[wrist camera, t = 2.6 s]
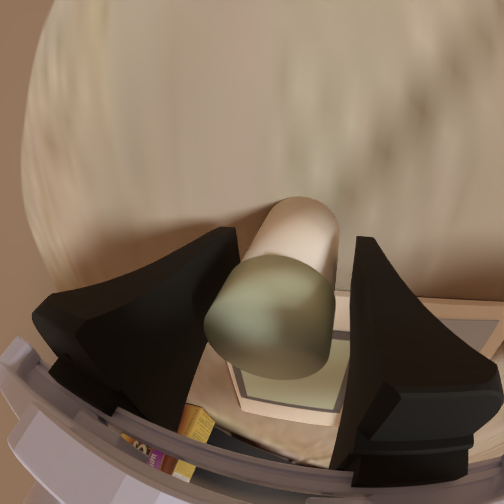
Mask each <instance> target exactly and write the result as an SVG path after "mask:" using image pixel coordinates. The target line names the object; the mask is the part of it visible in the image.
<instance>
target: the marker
mask: <svg viewBox="0 0 504 504" xmlns="http://www.w3.org/2000/svg"><path fill="white" fill-rule="evenodd" d="M339 236H340V230H339V225H338V222H337V219H336V217H335V216H334V214H333V213H332V212H331V210H330V209H329V208H328V207H327V206H325V205H324V204H322V203H321V202H319V201H317V200H315V199H312V198H308V197H290V198H287V199H284V200H282V201H280V202H279V203H277V204H276V205H275V206H274V207H273V208H272V209H271V210H270V212H269V213H268V215H267V217H266V218H265V220H264V222H263V224H262V225H261V227H260V229H259V231H258V232H257V234H256V236H255V238H254V239H253V241H252V243H251V245H250V246H249V248H248V250H247V252H246V253H245V255H244V257H243V259H242V260H241V262H240V264H238V265H237V266H236V267H235V268H234V269H233V270H232V272H231V273H230V275H229V276H228V278H227V280H226V281H225V283H224V285H223V287H222V288H221V290H220V292H219V293H218V295H217V297H216V299H215V300H214V302H213V304H212V305H211V307H210V309H209V311H208V312H207V314H206V316H205V319H204V332H205V335H206V338H207V340H208V342H209V343H210V345H211V346H212V348H213V349H214V350H215V351H216V352H217V353H218V354H219V355H220V356H221V357H222V358H223V359H225V360H226V361H227V362H229V363H230V364H232V365H233V366H235V367H237V368H239V369H241V370H243V371H245V372H247V373H250V374H253V375H256V376H259V377H263V378H267V379H274V380H296V379H301V378H305V377H308V376H311V375H313V374H315V373H316V372H318V371H319V370H321V369H322V368H323V367H324V366H325V364H326V363H327V361H328V358H329V355H330V349H331V342H332V335H333V327H334V319H335V311H336V299H335V295H334V291H335V282H336V272H337V261H338V249H339Z"/></svg>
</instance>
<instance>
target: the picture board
mask: <svg viewBox="0 0 504 504" xmlns="http://www.w3.org/2000/svg"><path fill="white" fill-rule="evenodd" d="M334 295H335V299H336V311H335V319H334V327H333V335H332V342H331V349H330V355H329V358H328V361H327V363H326V364H325V366H324V367H323V368H322V369H321V370H319V371H318V372H316V373H315V374H313V375H311V376H308V377H305V378H301V379H296V380H274V379H267V378H263V377H259V376H256V375H253V374H250V373H247V372H245V371H243V370H241V369H239V368H237V367H235V366H233V365H232V364H230V363H229V362H227V364H228V368H229V371H230V374H231V377H232V380H233V384H234V387H235V390H236V393H237V396H238V399H239V402H240V405H241V408H242V411H245V412H249V413H254V414H258V415H263V416H268V417H273V418H278V419H284V420H290V421H296V422H302V423H309V424H317V425H325V426H334V427H339V424H340V419H341V414H342V409H343V404H344V398H345V392H346V386H347V379H348V371H349V361H350V310H349V303H350V292H348V291H337V290H335V291H334ZM417 298H418V299H419V300H420V301H421V302H422V303H423V305H424V306H425V307H426V308H427V309H428V310H429V311H430V312H431V313H432V314H433V315H434V316H435V317H436V318H438V319H439V320H440V321H441V322H442V323H443V324H444V325H445V326H446V327H447V328H448V329H450V330H451V331H452V332H453V333H454V334H455V335H457V336H458V337H459V338H461V339H462V340H463V341H464V342H466V343H467V344H468V345H469V346H471V347H472V348H473V349H475V350H476V351H478V352H479V353H481V354H482V355H484V356H485V357H487V358H488V359H489V360H490V359H491V357H492V356H493V355H494V353H495V352H496V350H497V349H498V348H499V346H500V345H501V343H502V342H503V340H504V302H501V301H477V300H457V299H440V298H424V297H417Z"/></svg>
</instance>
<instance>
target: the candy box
mask: <svg viewBox="0 0 504 504" xmlns="http://www.w3.org/2000/svg"><path fill="white" fill-rule="evenodd" d="M214 424H215V421H214V420H213V419H212V418H211V417H210V415H209V414H208V413H207V412H206V411H205V410H204V409H203V408H202V407H198V406H194V405H190V404H186V403H185V406H184V410H183V413H182V417H181V421H180V424H179V428H178V434H180V435H183V436H186V437H188V438H191V439H194V440H197V441H200V442H203V443H206V442H207V439H208V437H209V435H210V433H211V431H212V428H213V426H214ZM121 437H122V438H124V439H125V440H126V441H127V442H129V443H130V444H131V445H133V446H134V447H135V448H137V449H139V450H140V451H142V452H143V453H145V454H147V455H148V456H149V458H150V459H149V461H148V463H147V464H148V465H150V466H152V467H154V468H156V469H158V470H160V471H162V472H165V473H167V474H169V475H171V476H174V477H176V478H178V479H181V480H183V481H185V482H188V483H189V481H190V479H191V476H192V474H193V472H194V470H195V467H196V466H194V465H192V464H189V463H186V462H184V461H181V460H179V459H176V458H174V457H172V456H169V455H167V454H165V453H162V452H160V451H158V450H156V449H154V448H151V447H149V446H147V445H145V444H143V443H141V442H139V441H137V440H135V439H133V438H131V437H129V436H127V435H126V434H124V433H122V436H121Z"/></svg>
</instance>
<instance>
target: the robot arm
mask: <svg viewBox="0 0 504 504" xmlns="http://www.w3.org/2000/svg"><path fill="white" fill-rule="evenodd" d="M238 264H240V256H239V249H238V243H237V236H236V229H235V227H219V228H216V229H214V230H212V231H210V232H209V233H207V234H205V235H203V236H201V237H199V238H198V239H196V240H194V241H192V242H191V243H189V244H187V245H185V246H184V247H182V248H180V249H178V250H176V251H175V252H173V253H171V254H169V255H167V256H165V257H163V258H161V259H160V260H158V261H156V262H154V263H151V264H149V265H147V266H145V267H143V268H140V269H138V270H136V271H133V272H131V273H128V274H125V275H123V276H120V277H117V278H114V279H112V280H109V281H106V282H102V283H99V284H95V285H92V286H88V287H84V288H80V289H75V290H70V291H64V292H59V293H53V294H51V295H50V296H48V297H47V298H46V299H45V300H44V301H43V302H42V303H41V304H40V305H39V306H38V308H36V310H35V311H34V312H33V313H32V320H33V323H34V325H35V327H36V329H37V330H38V332H39V333H40V334H41V336H42V337H43V339H44V340H45V341H46V343H47V344H48V345H49V347H50V348H51V349H52V351H53V352H54V353H55V354H56V356H57V357H58V359H57V361H56V362H55V363H54V365H53V366H51V365H50V364H48V363H47V362H46V361H44V360H43V359H41V357H40V355H39V354H38V353H37V352H36V350H35V349H34V348H33V347H32V346H31V345H30V344H29V343H28V342H27V341H26V340H24V339H23V338H22V337H21V336H17V337H16V338H15V339H14V340H13V342H12V343H11V344H10V345H9V346H8V348H7V349H6V350H5V351H4V353H3V354H2V355H1V356H0V391H1V392H2V394H3V395H4V397H5V399H6V400H7V402H8V404H9V405H10V407H11V408H12V410H13V412H14V413H15V415H16V416H17V418H18V419H19V421H18V422H17V424H16V425H15V427H14V428H13V430H12V432H11V433H10V435H9V436H8V438H7V441H8V444H9V447H10V448H11V450H12V452H13V453H14V455H15V456H16V457H17V459H18V460H19V461H20V462H21V463H22V464H23V466H25V468H26V469H27V470H28V471H29V472H30V473H31V474H32V475H33V476H34V478H35V479H36V480H35V482H34V483H33V485H32V487H31V489H30V490H29V492H28V494H27V496H26V498H25V500H24V502H23V503H22V504H252V503H248V502H244V501H240V500H237V499H234V498H230V497H227V496H224V495H221V494H218V493H215V492H212V491H209V490H206V489H204V488H201V487H198V486H196V485H193V484H190V483H188V482H185V481H183V480H181V479H178V478H176V477H174V476H171V475H169V474H167V473H165V472H162V471H160V470H158V469H156V468H154V467H152V466H150V465H148V464H147V463H148V461H149V459H150V458H149V456H148V455H147V454H145V453H143V452H142V451H140V450H139V449H137V448H135V447H134V446H133V445H131V444H130V443H129V442H127V441H126V440H125V439H124V438H122V437H121V436H120V435H119V434H117V433H116V432H114V431H112V430H111V429H110V428H108V425H110V426H111V427H113V428H115V429H117V430H118V431H120V432H122V433H124V434H126V435H127V436H129V437H131V438H133V439H135V440H137V441H139V442H141V443H143V444H145V445H147V446H149V447H151V448H154V449H156V450H158V451H160V452H162V453H165V454H167V455H169V456H172V457H174V458H176V459H179V460H181V461H184V462H186V463H189V464H192V465H194V466H197V467H200V468H203V469H206V470H209V471H212V472H215V473H218V474H221V475H224V476H228V477H231V478H235V479H238V480H242V481H246V482H250V483H254V484H258V485H262V486H267V487H272V488H277V489H282V490H288V491H294V492H300V493H308V494H316V495H326V496H339V497H360V498H315V497H314V498H313V497H310V498H309V499H307V500H306V504H504V454H503V456H500V457H496V458H492V459H488V460H484V461H480V462H475V463H470V464H468V449H470V448H472V447H473V445H474V436H473V434H474V433H475V432H476V431H477V430H479V429H480V428H481V427H482V426H484V425H485V424H486V423H487V422H488V421H490V420H491V419H492V418H493V417H494V416H495V415H496V414H497V413H498V411H499V410H500V408H501V406H502V404H503V403H504V394H503V389H502V384H501V379H500V375H499V370H498V367H497V364H495V363H494V362H492V361H491V360H489V359H488V358H487V357H485V356H484V355H482V354H481V353H479V352H478V351H476V350H475V349H473V348H472V347H471V346H469V345H468V344H467V343H466V342H464V341H463V340H462V339H461V338H459V337H458V336H457V335H455V334H454V333H453V332H452V331H451V330H450V329H448V328H447V327H446V326H445V325H444V324H443V323H442V322H441V321H440V320H439V319H438V318H436V317H435V316H434V315H433V314H432V313H431V312H430V311H429V310H428V309H427V308H426V307H425V306H424V305H423V303H422V302H421V301H420V300H419V299H418V298H417V297H416V296H415V295H414V294H413V292H412V291H411V290H410V289H409V288H408V287H407V285H406V284H405V283H404V281H403V280H402V279H401V278H400V276H399V275H398V273H397V272H396V271H395V269H394V268H393V266H392V265H391V263H390V262H389V260H388V259H387V257H386V256H385V254H384V253H383V251H382V250H381V248H380V246H379V245H378V243H377V242H376V240H375V239H374V238H373V237H363V236H357V238H356V247H355V256H354V264H353V272H352V279H351V290H350V303H349V310H350V361H349V371H348V379H347V386H346V392H345V398H344V404H343V409H342V414H341V419H340V424H339V429H338V434H337V438H336V442H335V446H334V450H333V454H332V458H331V462H330V465H329V469H328V470H326V469H317V468H310V467H302V466H296V465H289V464H284V463H279V462H274V461H269V460H264V459H260V458H255V457H251V456H247V455H243V454H239V453H235V452H232V451H228V450H225V449H222V448H218V447H215V446H212V445H209V444H206V443H203V442H200V441H197V440H194V439H191V438H188V437H186V436H183V435H180V434H178V428H179V424H180V421H181V417H182V413H183V410H184V406H185V403H186V399H187V396H188V393H189V390H190V387H191V384H192V381H193V378H194V375H195V372H196V370H197V367H198V364H199V362H200V359H201V357H202V354H203V351H204V349H205V346H206V344H207V342H208V340H207V338H206V335H205V332H204V319H205V316H206V314H207V312H208V311H209V309H210V307H211V305H212V304H213V302H214V300H215V299H216V297H217V295H218V293H219V292H220V290H221V288H222V287H223V285H224V283H225V281H226V280H227V278H228V276H229V275H230V273H231V272H232V270H233V269H234V268H235V267H236V266H237V265H238ZM107 424H108V425H107Z"/></svg>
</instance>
